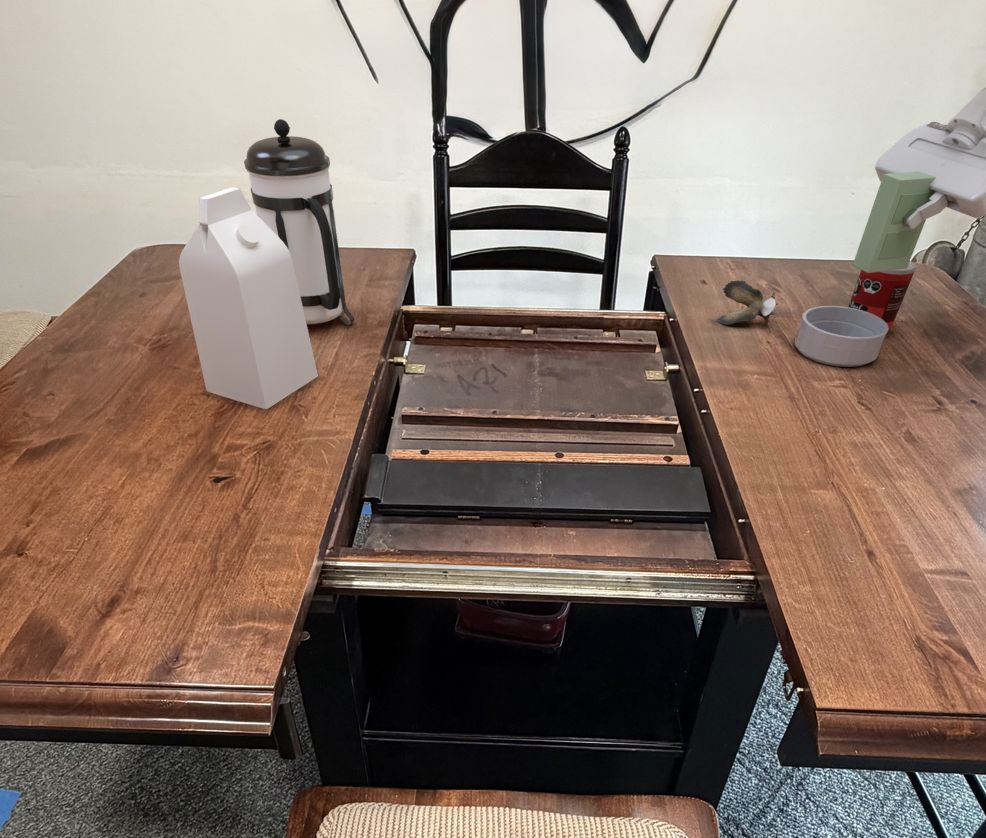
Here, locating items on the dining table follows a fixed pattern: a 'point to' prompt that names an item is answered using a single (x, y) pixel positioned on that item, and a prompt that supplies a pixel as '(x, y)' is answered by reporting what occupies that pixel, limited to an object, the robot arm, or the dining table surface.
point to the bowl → (840, 335)
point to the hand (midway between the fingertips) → (894, 219)
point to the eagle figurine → (747, 303)
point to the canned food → (882, 292)
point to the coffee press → (301, 216)
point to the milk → (244, 305)
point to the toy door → (893, 222)
